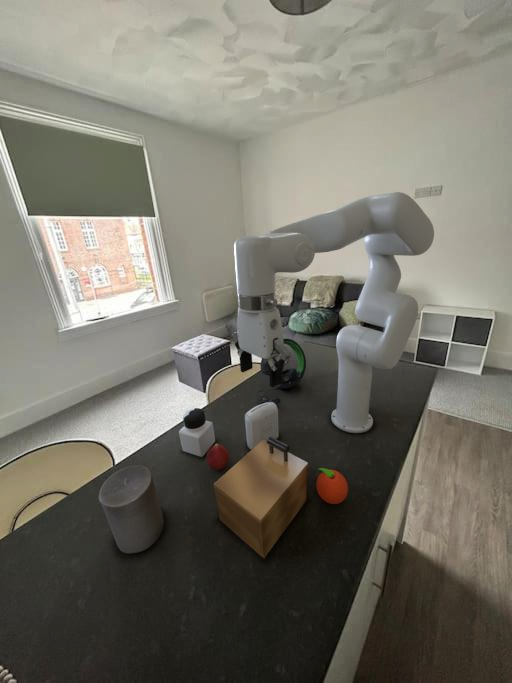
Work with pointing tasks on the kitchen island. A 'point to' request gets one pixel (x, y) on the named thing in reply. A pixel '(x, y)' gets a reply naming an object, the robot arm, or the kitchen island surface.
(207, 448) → the medicine bottle
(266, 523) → the chest
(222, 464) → the onion
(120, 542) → the pillar candle
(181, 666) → the kitchen island surface
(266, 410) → the photo printer
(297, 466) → the lid
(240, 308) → the robot arm
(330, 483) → the clementine
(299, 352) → the headset
